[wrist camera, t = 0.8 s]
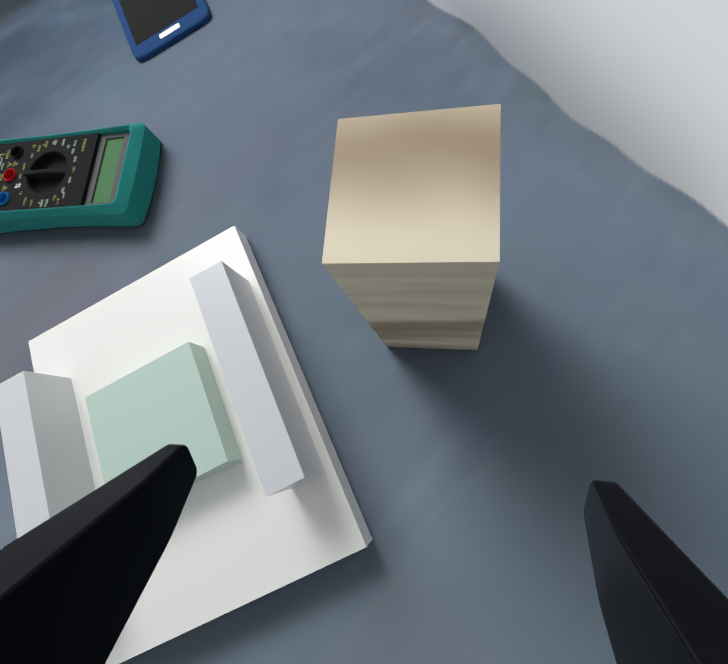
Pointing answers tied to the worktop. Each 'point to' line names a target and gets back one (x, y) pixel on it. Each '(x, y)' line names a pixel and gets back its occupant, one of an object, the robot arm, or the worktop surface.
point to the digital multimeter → (78, 178)
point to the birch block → (417, 223)
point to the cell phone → (159, 23)
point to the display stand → (186, 435)
